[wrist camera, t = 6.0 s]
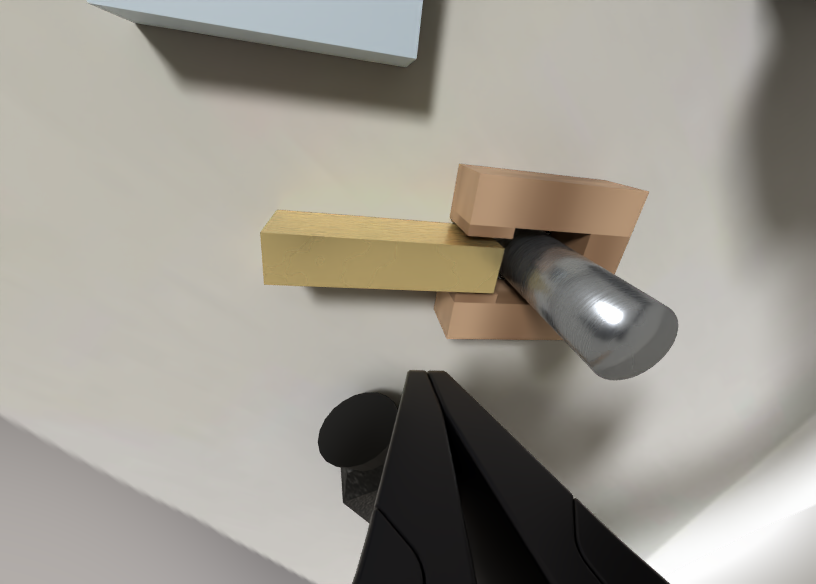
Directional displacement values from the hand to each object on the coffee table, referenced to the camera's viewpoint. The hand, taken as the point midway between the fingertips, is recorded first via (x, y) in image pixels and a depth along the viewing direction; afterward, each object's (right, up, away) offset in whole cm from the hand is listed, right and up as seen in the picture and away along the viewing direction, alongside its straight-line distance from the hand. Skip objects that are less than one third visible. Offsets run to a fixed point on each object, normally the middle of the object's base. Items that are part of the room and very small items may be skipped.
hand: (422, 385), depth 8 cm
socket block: (+6, +4, +11) cm, 13 cm away
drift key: (-2, +5, +10) cm, 11 cm away
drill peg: (+6, +4, +11) cm, 13 cm away
